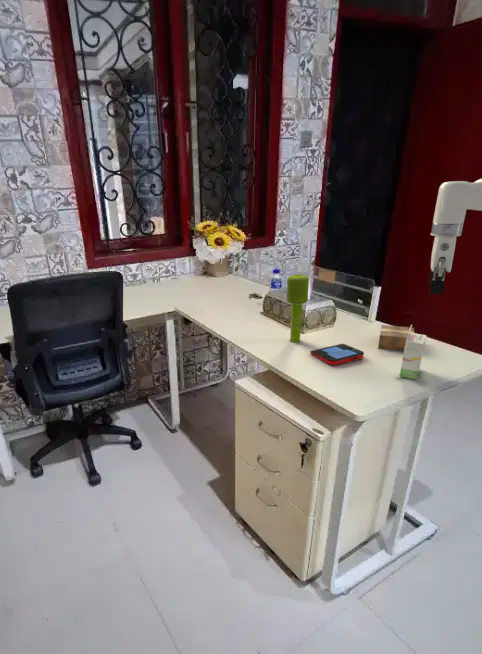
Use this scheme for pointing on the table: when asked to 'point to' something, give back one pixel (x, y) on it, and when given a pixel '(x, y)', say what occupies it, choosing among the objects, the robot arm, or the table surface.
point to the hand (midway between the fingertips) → (434, 289)
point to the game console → (338, 354)
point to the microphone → (296, 302)
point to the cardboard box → (393, 337)
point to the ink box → (412, 355)
